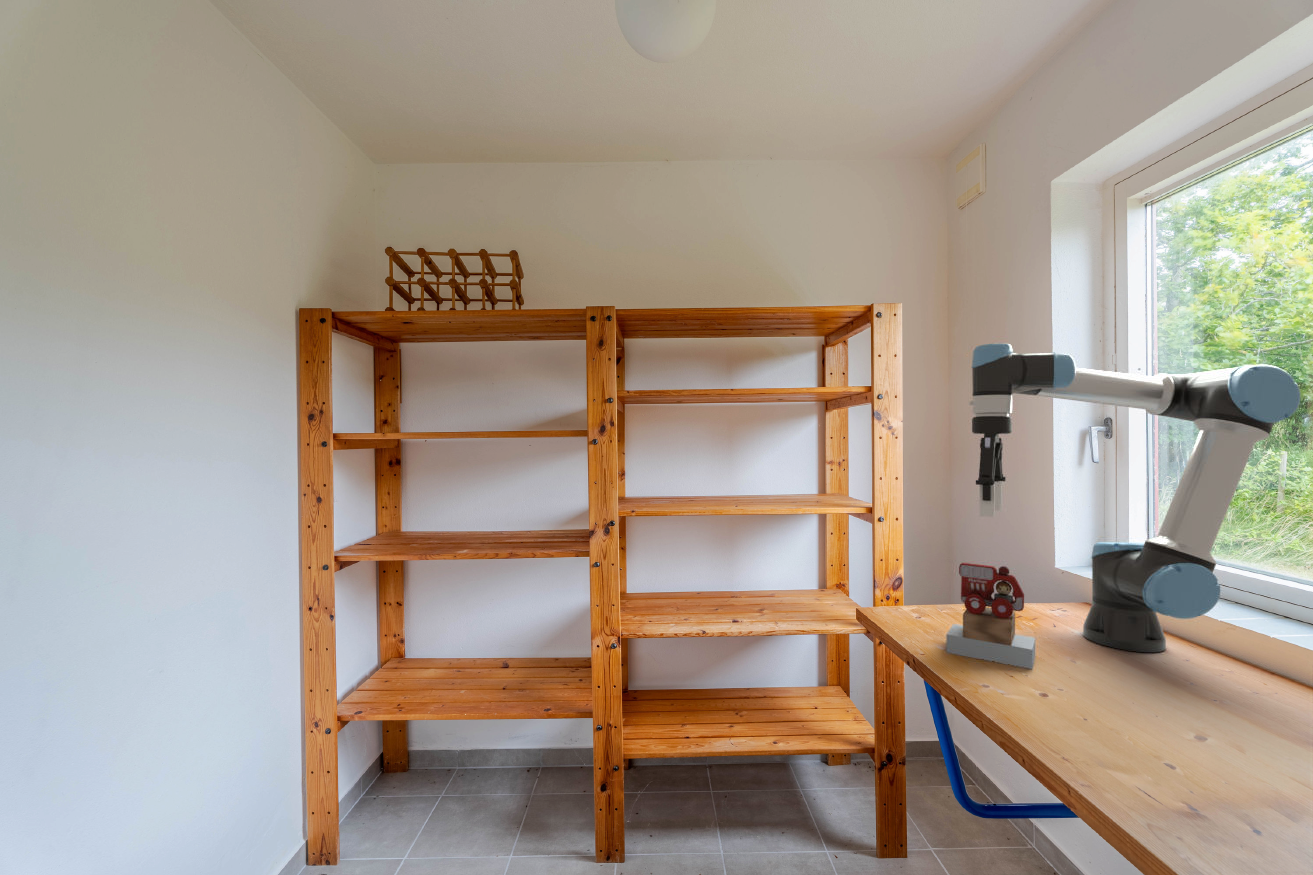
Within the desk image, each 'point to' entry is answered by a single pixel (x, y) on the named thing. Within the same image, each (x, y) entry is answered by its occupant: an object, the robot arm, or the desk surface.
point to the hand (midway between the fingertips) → (991, 513)
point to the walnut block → (989, 627)
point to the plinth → (992, 648)
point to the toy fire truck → (989, 590)
